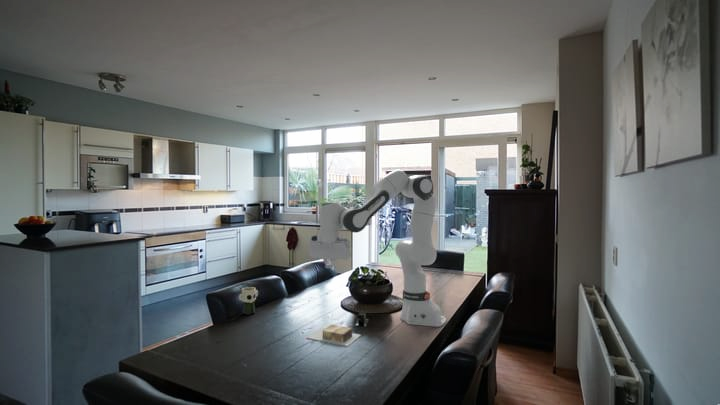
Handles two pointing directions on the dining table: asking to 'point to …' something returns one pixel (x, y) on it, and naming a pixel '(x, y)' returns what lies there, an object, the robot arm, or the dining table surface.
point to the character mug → (248, 299)
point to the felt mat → (319, 337)
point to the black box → (361, 320)
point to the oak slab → (337, 333)
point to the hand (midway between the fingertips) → (329, 267)
